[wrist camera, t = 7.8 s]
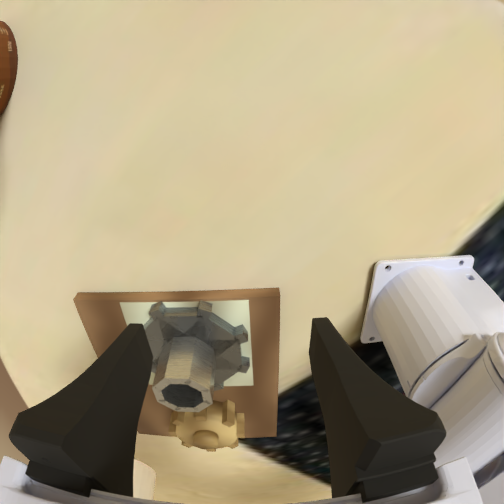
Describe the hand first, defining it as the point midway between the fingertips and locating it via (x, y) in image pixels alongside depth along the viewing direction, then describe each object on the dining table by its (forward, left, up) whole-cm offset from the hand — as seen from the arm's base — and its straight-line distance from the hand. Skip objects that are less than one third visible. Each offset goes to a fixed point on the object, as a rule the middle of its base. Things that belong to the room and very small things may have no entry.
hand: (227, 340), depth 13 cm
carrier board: (+5, +14, -9) cm, 18 cm away
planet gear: (+4, +9, -8) cm, 13 cm away
